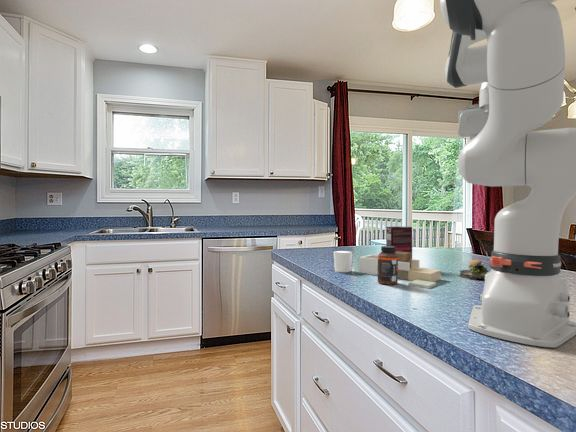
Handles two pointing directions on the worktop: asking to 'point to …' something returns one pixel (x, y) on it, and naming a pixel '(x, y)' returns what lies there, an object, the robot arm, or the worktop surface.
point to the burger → (474, 271)
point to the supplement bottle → (388, 266)
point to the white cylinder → (342, 261)
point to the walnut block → (404, 257)
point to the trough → (400, 269)
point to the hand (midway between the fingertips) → (495, 148)
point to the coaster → (422, 283)
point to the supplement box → (399, 238)
